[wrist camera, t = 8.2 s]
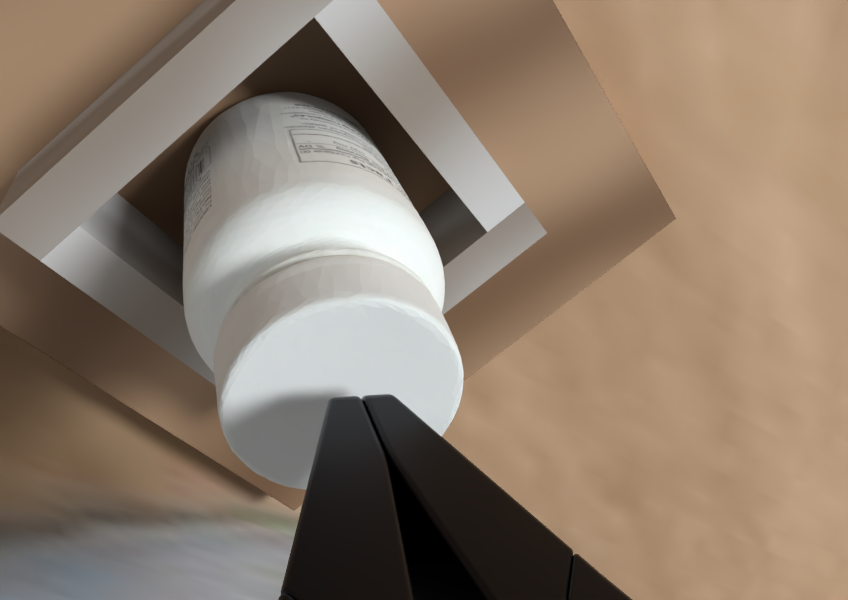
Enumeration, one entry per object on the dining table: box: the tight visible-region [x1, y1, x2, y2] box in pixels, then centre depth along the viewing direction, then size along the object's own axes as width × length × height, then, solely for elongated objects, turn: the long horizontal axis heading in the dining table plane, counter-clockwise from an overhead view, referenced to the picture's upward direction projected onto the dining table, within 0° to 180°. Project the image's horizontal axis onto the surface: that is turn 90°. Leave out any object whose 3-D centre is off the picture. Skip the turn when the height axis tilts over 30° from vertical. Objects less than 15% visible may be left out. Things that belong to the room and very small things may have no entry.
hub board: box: [0, 0, 676, 510], centre depth 15 cm, size 16×14×4 cm
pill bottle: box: [183, 92, 463, 490], centre depth 13 cm, size 4×4×8 cm
